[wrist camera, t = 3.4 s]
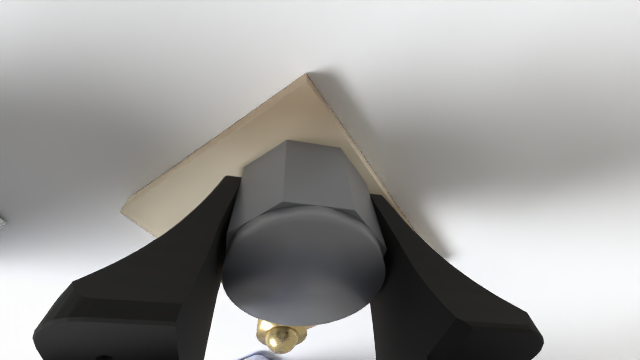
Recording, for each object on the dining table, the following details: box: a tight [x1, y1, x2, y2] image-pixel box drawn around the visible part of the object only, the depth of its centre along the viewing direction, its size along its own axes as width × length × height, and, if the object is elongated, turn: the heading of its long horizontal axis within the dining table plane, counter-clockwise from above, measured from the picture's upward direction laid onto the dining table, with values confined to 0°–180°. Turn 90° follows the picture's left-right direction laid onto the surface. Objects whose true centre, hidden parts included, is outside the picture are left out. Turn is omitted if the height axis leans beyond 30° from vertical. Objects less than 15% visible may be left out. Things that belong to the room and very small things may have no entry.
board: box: [120, 74, 414, 329], centre depth 16 cm, size 13×10×1 cm
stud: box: [256, 319, 307, 354], centre depth 16 cm, size 2×2×4 cm
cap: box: [221, 140, 387, 326], centre depth 12 cm, size 5×5×4 cm
